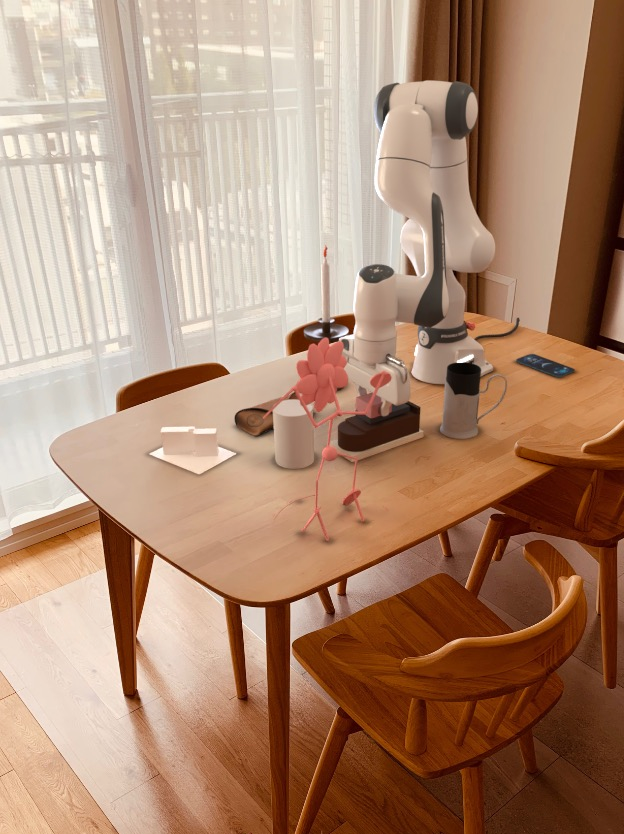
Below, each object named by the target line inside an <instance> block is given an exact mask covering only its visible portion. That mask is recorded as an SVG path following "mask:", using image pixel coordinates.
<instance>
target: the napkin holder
mask: <svg viewBox="0 0 624 834" xmlns="http://www.w3.org/2000/svg"><path fill="white" fill-rule="evenodd" d="M160 439H161V445H162V447H160V448H158V449H156V450H154V451H152V452H150V453H149V455H150V456H152V457H155V458H157V459H159V460H162V461H164V462H167V463H169V464H172V465H174V466H177V467H179V468H182V469H184V470H187V471H189V472H192V473H194V474H197V475H201V474H203V473H205V472H207V471H208V470H210V469H212V468H214V467H215V466H218V465H220V464H221V463H223V462H225V461H226V460H228V459H230V458H232V457H234V456H235V455H237V453H236V452H234V451H231V450H228V449H225V448H223V447H221V446H219V437H218V429H217V428H215V427H211V428H196V426H195V425H193V426H162V427H161V429H160Z"/></svg>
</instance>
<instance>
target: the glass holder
mask: <svg viewBox="0 0 624 834" xmlns="http://www.w3.org/2000/svg"><path fill="white" fill-rule="evenodd" d="M481 377H482V376H481V368H480V367H479V366H478V365H475V364H472V363H467V362H456V363H452V364H450V365H448V366H447V375H446V377H445V384H444V392H443V393H444V394H443V409H442V422H441V424H440V427H439V431H440V433H441V434H442V435H443V436H445V437H448V438H451V439H456V440H457V439H458V440H466V439H471V438H474V437H476V436H477V435H478V433H479V429H478V424H479V421H480V420H481V419H482V418H484V417H485V416H486V415H488V414H490V413H491V412H492V411H494V410H495V409H496V408H497V407H499V405H500V404H501V403H502V402H503V399H504V398H505V395H506V393H507V388H508V380H507V378H506V377H505V376H504V375H503V374H500V373H496V374H495V373H494V374H493V375H491V376H490V377H489V378H488V380H487V382H486V388H485V389H484V390H481V389H480V388H481ZM495 377H500V378H502V379H504V382H505V383H504V384H505V385H504V390H503V392H502V395H501V396H500V398H499V400H498V401H497V402H496V404H494V406H492V407H491V408H490V409H488V410H486V411H485V412H484V413H483V414H481V415H480V416H479V405H480V396H481V395H480V394H485V393H487V391H488V390H489V386H490V382H491V381H492V379H494V378H495Z"/></svg>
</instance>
